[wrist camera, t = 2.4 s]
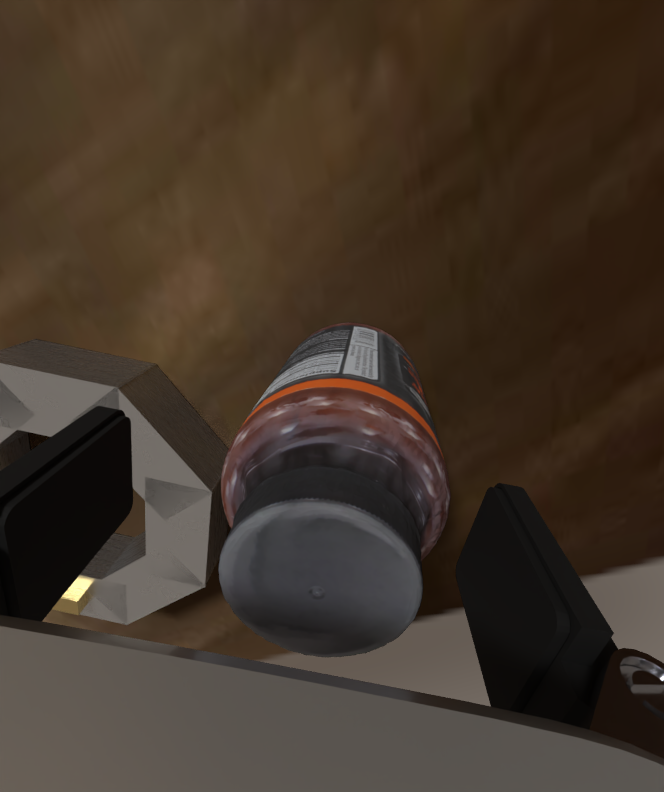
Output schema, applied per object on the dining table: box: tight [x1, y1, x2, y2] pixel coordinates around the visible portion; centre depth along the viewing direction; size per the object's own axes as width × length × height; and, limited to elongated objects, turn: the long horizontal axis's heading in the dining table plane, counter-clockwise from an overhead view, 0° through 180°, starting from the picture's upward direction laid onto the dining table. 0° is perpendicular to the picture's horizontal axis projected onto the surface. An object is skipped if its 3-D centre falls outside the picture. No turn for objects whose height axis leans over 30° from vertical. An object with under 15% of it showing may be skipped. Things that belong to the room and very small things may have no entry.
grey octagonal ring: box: [0, 339, 228, 625], centre depth 20 cm, size 14×14×4 cm
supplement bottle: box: [218, 323, 451, 657], centre depth 13 cm, size 6×6×11 cm
